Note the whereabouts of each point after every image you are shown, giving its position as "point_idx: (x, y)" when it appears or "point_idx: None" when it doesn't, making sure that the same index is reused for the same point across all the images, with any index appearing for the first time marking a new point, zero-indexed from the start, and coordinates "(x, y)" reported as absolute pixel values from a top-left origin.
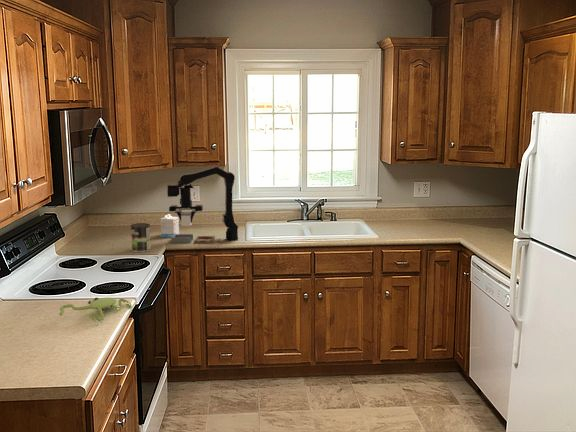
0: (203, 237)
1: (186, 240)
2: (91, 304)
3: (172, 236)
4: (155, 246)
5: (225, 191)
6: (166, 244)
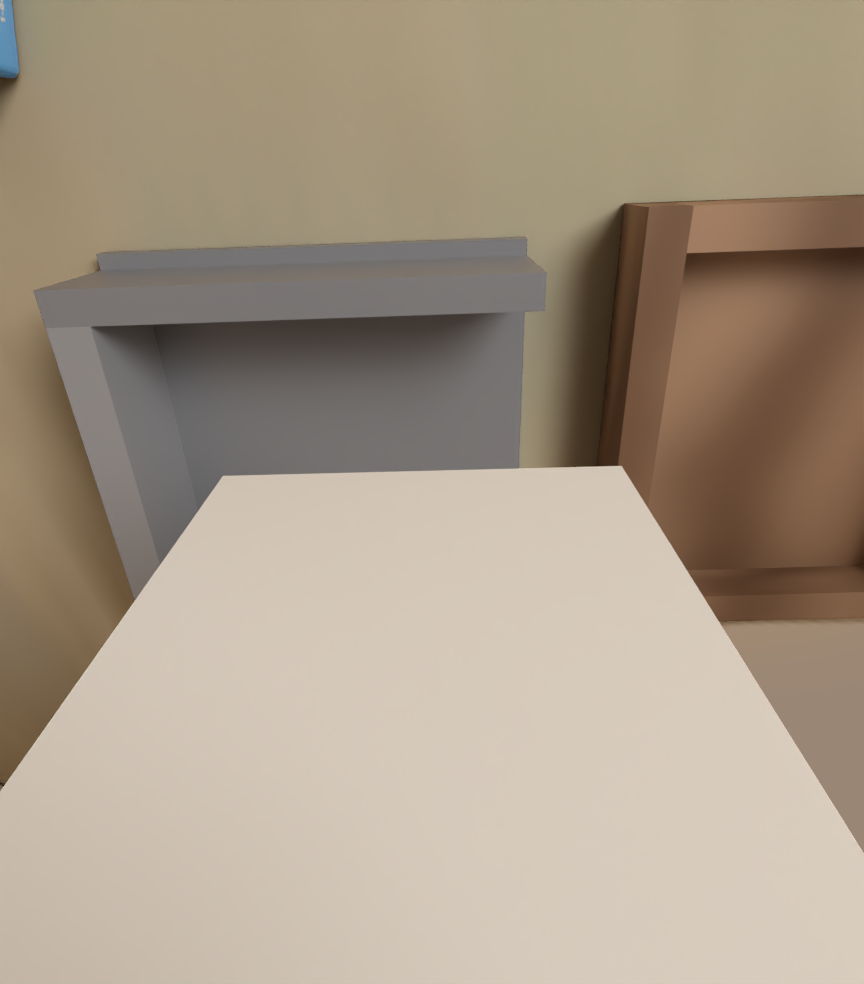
0: (784, 245)
1: None
2: None
3: (115, 534)
4: (20, 703)
5: None
6: (123, 603)
